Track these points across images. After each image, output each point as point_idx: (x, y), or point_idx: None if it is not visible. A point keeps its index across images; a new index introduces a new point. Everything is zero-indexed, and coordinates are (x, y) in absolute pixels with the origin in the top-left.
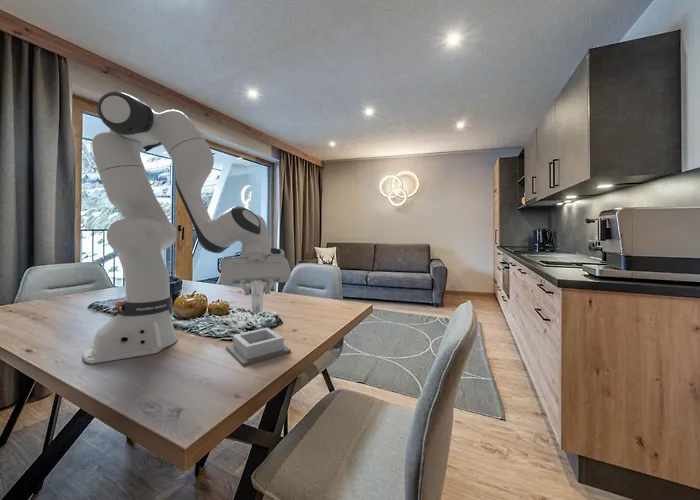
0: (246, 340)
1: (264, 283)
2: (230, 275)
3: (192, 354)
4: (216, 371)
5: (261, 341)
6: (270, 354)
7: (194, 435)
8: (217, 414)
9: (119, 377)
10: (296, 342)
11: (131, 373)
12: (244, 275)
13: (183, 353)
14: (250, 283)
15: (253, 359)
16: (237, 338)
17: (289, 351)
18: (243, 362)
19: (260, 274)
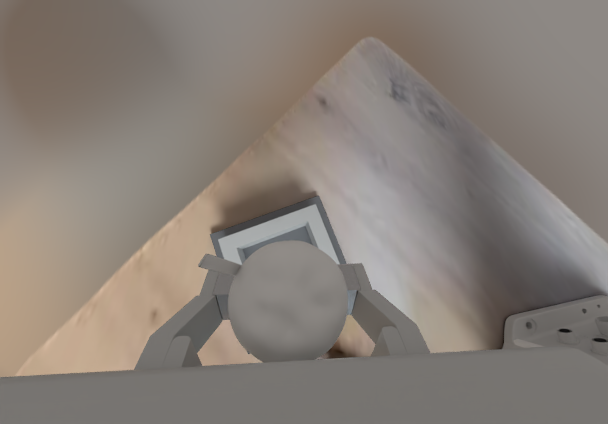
0: None
1: (236, 278)
2: (549, 375)
3: (428, 290)
4: (364, 191)
5: (278, 230)
6: (260, 221)
7: (365, 43)
8: (345, 70)
9: (520, 220)
10: (183, 295)
11: (509, 230)
12: (417, 377)
13: (449, 302)
14: (340, 277)
15: (298, 206)
16: None
17: (214, 233)
18: (318, 199)
19: (252, 393)
